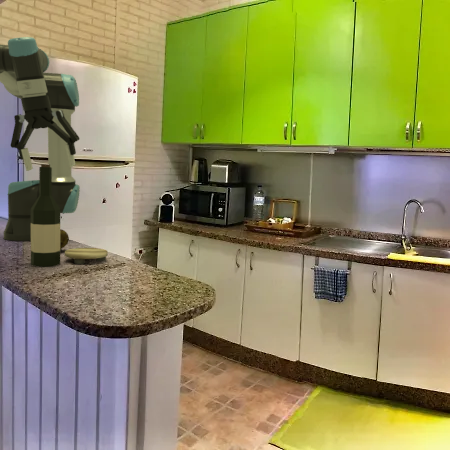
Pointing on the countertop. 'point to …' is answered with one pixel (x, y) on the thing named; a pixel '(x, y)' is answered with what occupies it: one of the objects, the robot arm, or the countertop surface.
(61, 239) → the potato
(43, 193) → the wine bottle
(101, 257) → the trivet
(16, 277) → the countertop surface
